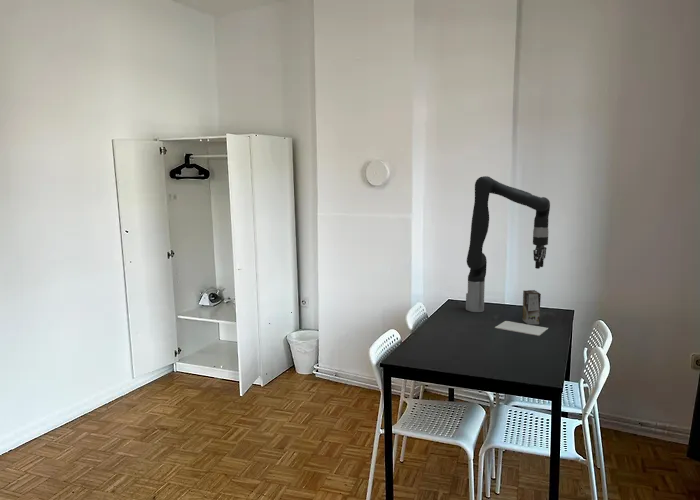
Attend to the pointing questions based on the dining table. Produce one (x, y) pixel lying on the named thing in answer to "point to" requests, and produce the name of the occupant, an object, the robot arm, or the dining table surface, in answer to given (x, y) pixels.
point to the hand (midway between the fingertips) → (539, 267)
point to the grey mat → (522, 328)
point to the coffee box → (531, 307)
